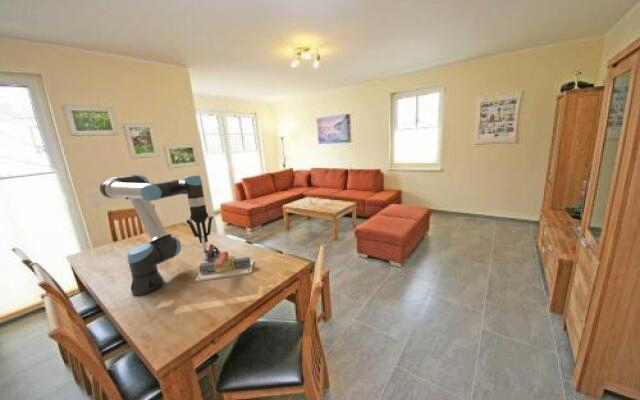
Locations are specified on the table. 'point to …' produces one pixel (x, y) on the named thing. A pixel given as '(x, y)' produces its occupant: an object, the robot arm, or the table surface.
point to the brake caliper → (211, 254)
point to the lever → (222, 259)
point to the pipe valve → (225, 265)
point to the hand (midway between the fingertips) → (205, 248)
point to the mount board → (225, 273)
